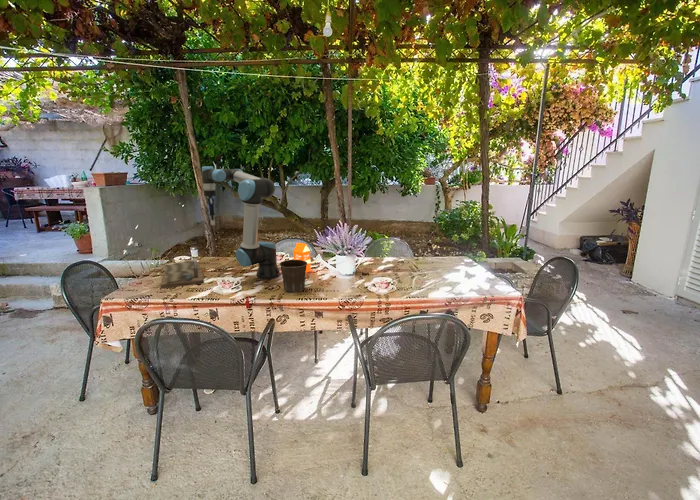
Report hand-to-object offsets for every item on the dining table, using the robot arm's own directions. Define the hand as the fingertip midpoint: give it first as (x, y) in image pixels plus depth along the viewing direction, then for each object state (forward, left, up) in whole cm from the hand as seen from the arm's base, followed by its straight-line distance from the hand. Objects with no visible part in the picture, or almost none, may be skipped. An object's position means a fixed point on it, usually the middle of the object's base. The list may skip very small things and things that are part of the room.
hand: (212, 224), depth 252 cm
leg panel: (-22, +23, -30) cm, 44 cm away
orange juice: (-28, -54, -32) cm, 69 cm away
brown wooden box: (-14, +22, -32) cm, 41 cm away
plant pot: (-62, -39, -32) cm, 80 cm away
